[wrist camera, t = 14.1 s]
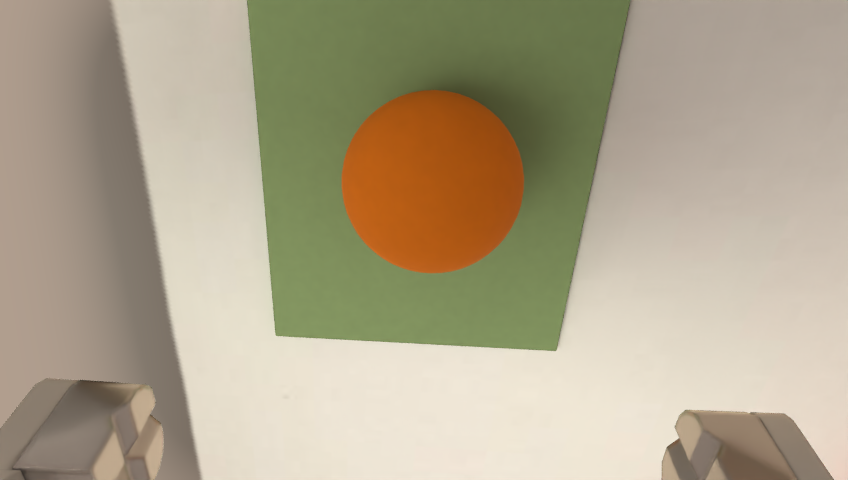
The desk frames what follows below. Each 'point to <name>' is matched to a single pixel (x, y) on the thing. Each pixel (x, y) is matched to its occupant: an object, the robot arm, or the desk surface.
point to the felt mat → (410, 72)
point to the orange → (432, 181)
